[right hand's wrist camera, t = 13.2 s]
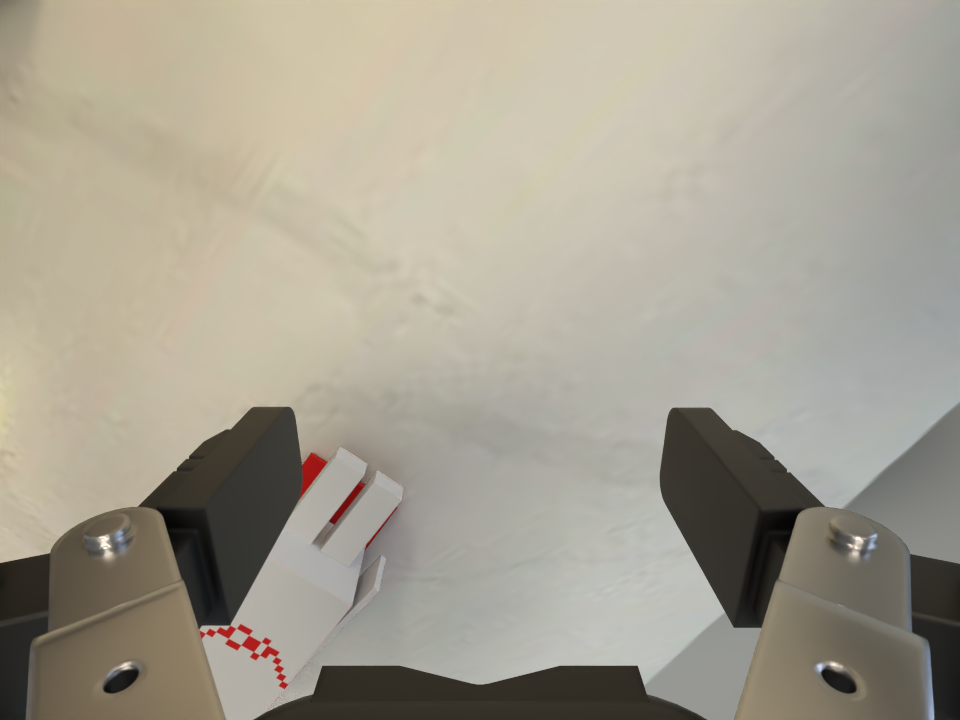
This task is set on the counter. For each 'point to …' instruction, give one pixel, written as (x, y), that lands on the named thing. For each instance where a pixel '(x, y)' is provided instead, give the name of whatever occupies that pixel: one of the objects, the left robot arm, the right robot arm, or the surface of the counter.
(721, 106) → the counter surface
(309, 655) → the toy
